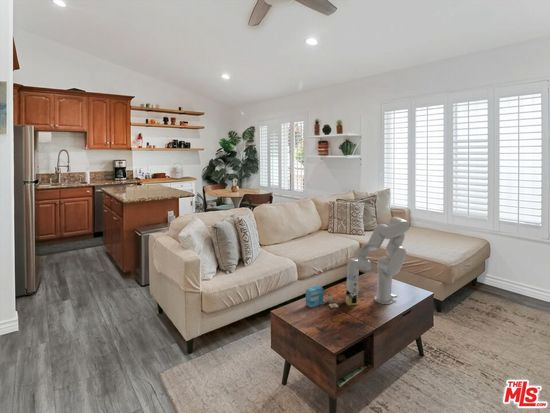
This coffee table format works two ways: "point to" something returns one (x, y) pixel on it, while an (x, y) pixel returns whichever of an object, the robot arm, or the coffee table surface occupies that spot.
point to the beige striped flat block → (333, 305)
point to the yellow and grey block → (350, 300)
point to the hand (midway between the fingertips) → (351, 299)
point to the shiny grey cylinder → (329, 298)
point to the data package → (314, 296)
